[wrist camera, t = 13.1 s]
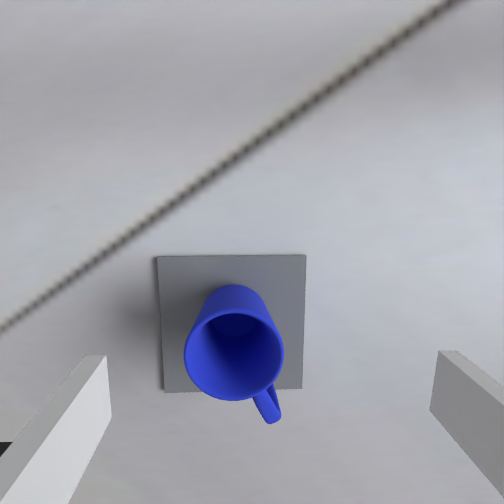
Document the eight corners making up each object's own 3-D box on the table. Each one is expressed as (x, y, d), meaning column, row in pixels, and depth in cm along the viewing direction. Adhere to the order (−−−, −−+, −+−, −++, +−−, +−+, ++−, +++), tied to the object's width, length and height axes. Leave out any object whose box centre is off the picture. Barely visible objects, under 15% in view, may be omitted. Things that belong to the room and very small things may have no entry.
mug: (234, 383, 38) (234, 452, 28) (183, 296, 36) (164, 337, 26) (298, 352, 38) (320, 410, 28) (250, 262, 35) (256, 291, 26)
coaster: (158, 256, 35) (156, 257, 35) (305, 254, 36) (306, 255, 36) (165, 389, 38) (164, 392, 38) (301, 385, 39) (302, 388, 39)
